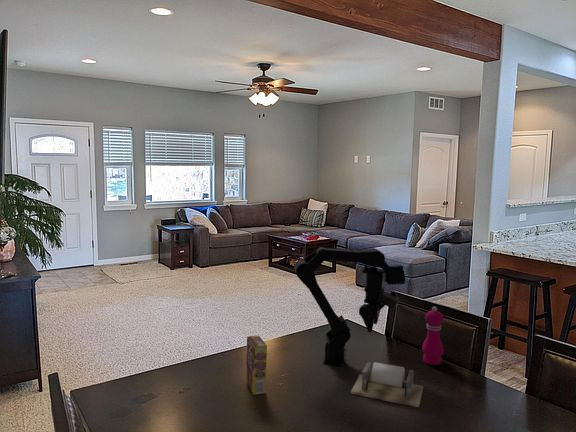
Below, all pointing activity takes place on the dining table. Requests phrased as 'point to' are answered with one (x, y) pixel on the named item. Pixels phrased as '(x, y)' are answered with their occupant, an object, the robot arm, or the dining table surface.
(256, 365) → the candy box
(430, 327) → the pepper mill
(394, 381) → the roll
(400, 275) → the robot arm
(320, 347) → the dining table surface
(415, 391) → the roll holder
